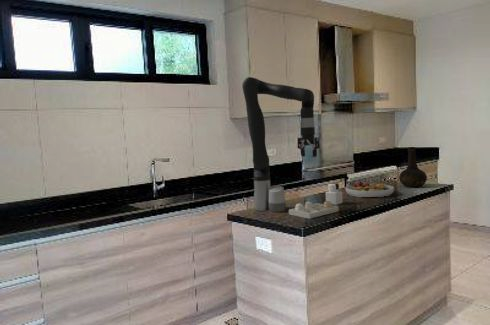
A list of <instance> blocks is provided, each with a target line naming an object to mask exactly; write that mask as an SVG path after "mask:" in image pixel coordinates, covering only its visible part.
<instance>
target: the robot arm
mask: <svg viewBox="0 0 490 325" xmlns="http://www.w3.org/2000/svg"><path fill="white" fill-rule="evenodd" d="M242 93H243V96H244V101H245V107H246V116H247V125H248V131H249V132H248V133H249V136H250V141H251V145H252V164H253V189H254V193H253V203H254V204H253V206H254V210H256V211H259V212H266V211H270V210H269V190H270V189H271V170H270V157H269V155H268V151H267V148H266V147H267V146H266V124H265V117H264V114H263V111H262V108H261V106H260V103H259V97H258V96H259V95H269V96H273V97H277V98H280V99H284V100H290V101H293V100H294V101H297V102H300V103H301V108H300V124H299V125H300V137H297V149H299V150H300V156H301V157H305V156H306V151H305V150H306V149H305V148H306V147H307V146H309V147H311V149H312V158H317V156H318V149H320V148H321V144H320V138H319V136H317V137H315V134H316V126H315V113H314V105H315V94H314V92H313V91H312V90H311V89H309V88H305V87H304V88H303V87H295V86H290V85H285V84H275V83H271V82H270V83H269V82H266V81H263V80H260V79H258V78H256V77H251V76H249V77H246V78H244V80H243V82H242Z"/></svg>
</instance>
